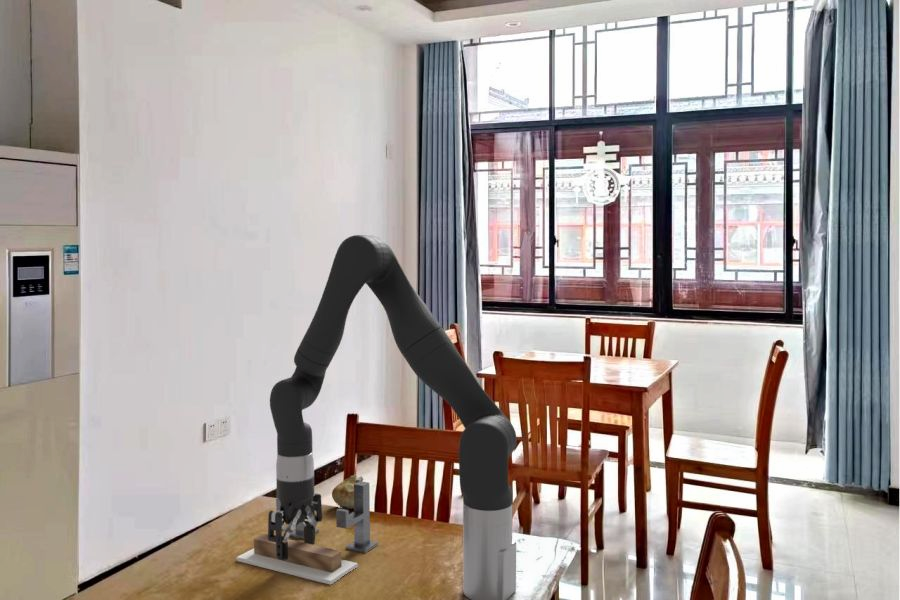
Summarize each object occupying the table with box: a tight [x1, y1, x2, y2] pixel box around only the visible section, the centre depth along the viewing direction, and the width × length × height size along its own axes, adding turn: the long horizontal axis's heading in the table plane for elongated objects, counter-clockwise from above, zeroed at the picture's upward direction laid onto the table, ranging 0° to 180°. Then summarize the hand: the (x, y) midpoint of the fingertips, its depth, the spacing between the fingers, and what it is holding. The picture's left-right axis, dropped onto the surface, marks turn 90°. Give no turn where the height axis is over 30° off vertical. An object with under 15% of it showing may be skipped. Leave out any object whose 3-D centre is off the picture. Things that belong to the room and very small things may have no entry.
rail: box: [253, 533, 342, 573], centre depth 152 cm, size 20×3×3 cm, turn 63°
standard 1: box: [275, 497, 320, 540], centre depth 166 cm, size 5×10×14 cm, turn 153°
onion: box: [331, 474, 364, 510], centre depth 185 cm, size 8×8×8 cm
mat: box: [236, 547, 359, 586], centre depth 152 cm, size 24×9×1 cm, turn 63°
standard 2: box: [335, 481, 379, 554], centre depth 158 cm, size 5×10×14 cm, turn 153°
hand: (296, 552), depth 152 cm, fingers open, 8 cm apart
